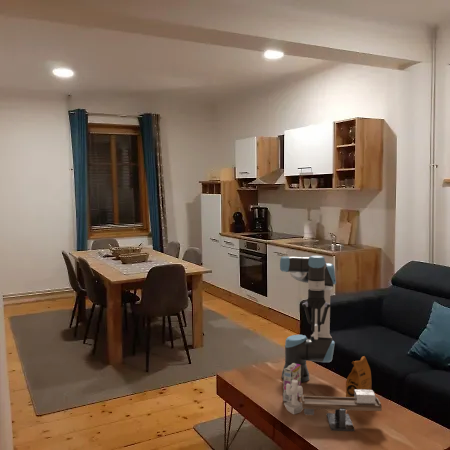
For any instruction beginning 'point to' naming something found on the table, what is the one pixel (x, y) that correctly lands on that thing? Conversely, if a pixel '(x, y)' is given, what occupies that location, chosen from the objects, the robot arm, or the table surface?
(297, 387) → the figurine
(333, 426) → the pivot stand
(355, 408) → the beam
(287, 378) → the candy bar box
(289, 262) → the robot arm
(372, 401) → the block
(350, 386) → the coffee package
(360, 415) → the table surface
